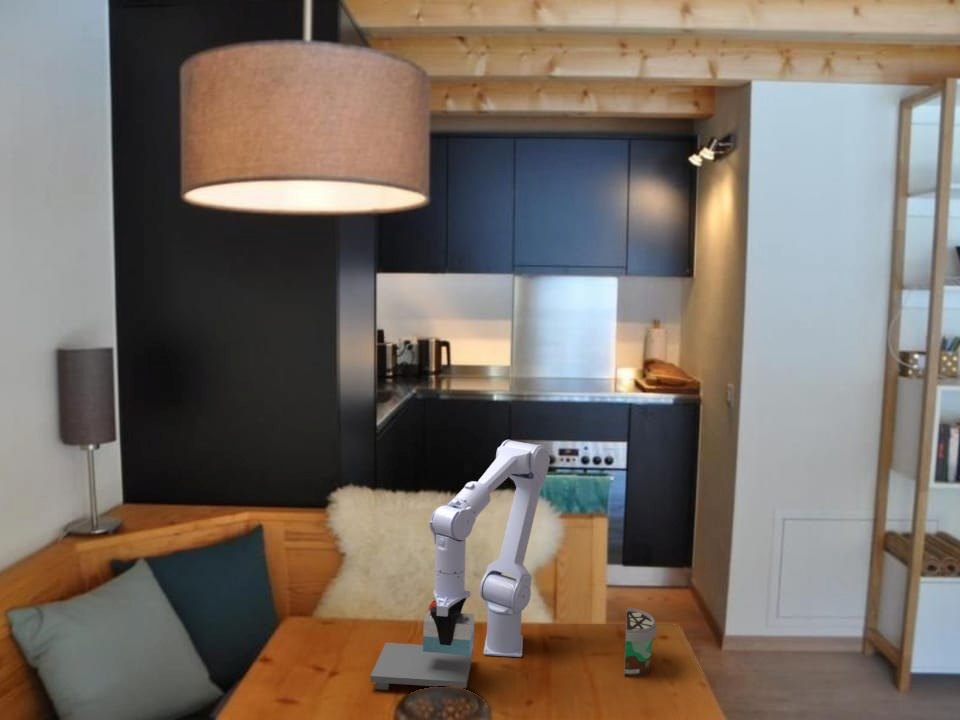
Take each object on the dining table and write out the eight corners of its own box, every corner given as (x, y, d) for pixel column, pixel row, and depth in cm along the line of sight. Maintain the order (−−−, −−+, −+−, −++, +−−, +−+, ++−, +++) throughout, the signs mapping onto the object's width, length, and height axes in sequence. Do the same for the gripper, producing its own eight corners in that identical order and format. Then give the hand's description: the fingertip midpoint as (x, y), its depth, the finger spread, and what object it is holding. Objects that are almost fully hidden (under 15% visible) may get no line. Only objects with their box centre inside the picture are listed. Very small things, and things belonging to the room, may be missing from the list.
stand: (385, 656, 152) (385, 642, 152) (472, 662, 151) (472, 647, 151) (370, 691, 138) (370, 675, 138) (465, 697, 137) (466, 682, 137)
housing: (428, 640, 146) (429, 608, 146) (473, 644, 145) (474, 612, 144) (422, 651, 141) (423, 619, 141) (469, 655, 140) (470, 623, 139)
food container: (656, 684, 144) (658, 634, 143) (624, 680, 145) (626, 630, 144) (654, 655, 156) (656, 609, 155) (624, 652, 157) (626, 606, 156)
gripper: (464, 584, 134) (462, 657, 135) (476, 558, 148) (474, 624, 149) (426, 581, 135) (424, 653, 136) (442, 555, 149) (440, 621, 150)
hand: (448, 638), depth 143 cm, fingers closed on housing, 5 cm apart
